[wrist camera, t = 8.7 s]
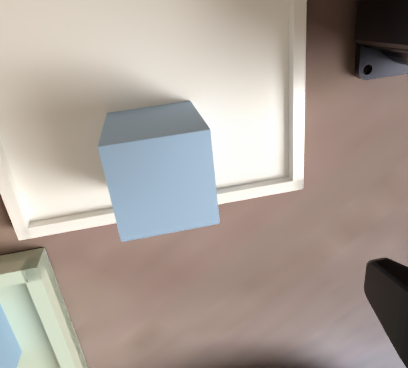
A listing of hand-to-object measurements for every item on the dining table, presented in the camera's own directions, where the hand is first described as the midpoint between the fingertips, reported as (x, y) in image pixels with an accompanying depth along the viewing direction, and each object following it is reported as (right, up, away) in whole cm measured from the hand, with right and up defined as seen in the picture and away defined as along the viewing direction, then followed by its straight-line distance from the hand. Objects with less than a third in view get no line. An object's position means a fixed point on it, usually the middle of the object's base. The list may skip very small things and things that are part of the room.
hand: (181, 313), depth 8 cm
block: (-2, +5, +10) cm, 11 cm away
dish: (-2, +8, +9) cm, 12 cm away
